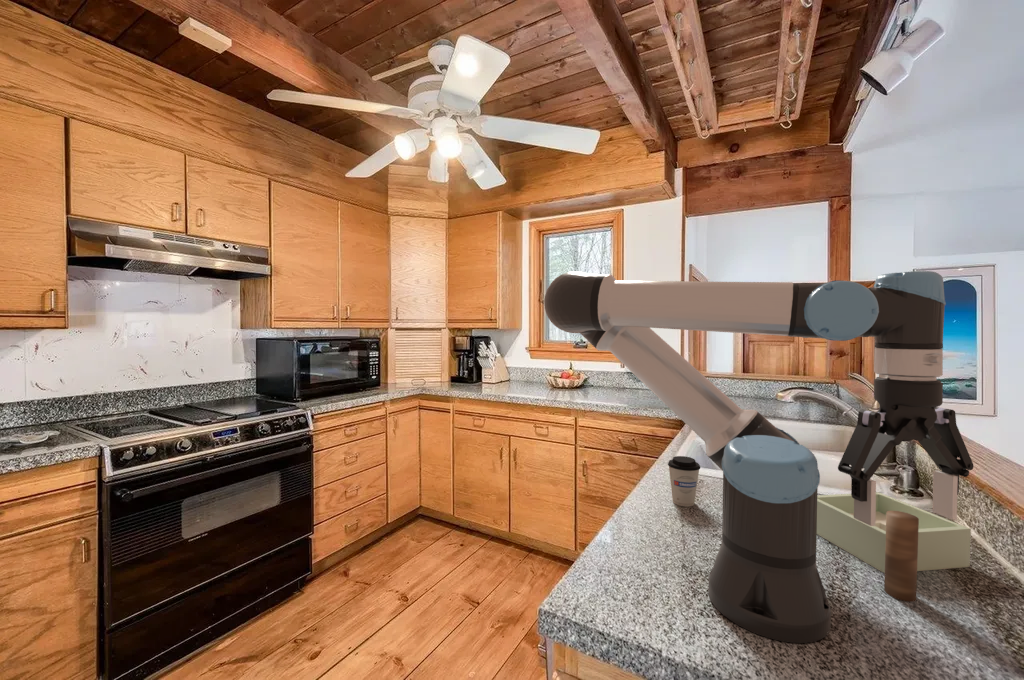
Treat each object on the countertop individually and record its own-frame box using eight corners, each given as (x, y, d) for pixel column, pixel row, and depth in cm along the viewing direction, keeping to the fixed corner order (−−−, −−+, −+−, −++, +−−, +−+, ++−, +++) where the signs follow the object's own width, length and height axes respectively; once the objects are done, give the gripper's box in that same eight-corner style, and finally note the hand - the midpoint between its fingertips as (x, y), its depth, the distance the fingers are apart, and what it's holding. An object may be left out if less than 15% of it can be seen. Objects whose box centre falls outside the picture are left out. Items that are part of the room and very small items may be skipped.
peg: (901, 602, 63) (904, 521, 63) (877, 587, 67) (879, 511, 66) (923, 600, 64) (925, 520, 63) (898, 586, 67) (900, 509, 67)
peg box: (884, 573, 70) (886, 534, 70) (806, 528, 86) (807, 496, 86) (969, 566, 72) (970, 528, 72) (877, 523, 88) (878, 492, 88)
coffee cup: (667, 494, 103) (667, 453, 103) (698, 498, 101) (699, 456, 101) (667, 506, 97) (667, 462, 96) (701, 510, 94) (701, 465, 94)
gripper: (855, 382, 59) (853, 536, 59) (1010, 378, 62) (1007, 524, 62) (810, 376, 66) (809, 513, 67) (951, 372, 69) (949, 503, 70)
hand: (904, 519), depth 65 cm, fingers open, 13 cm apart
